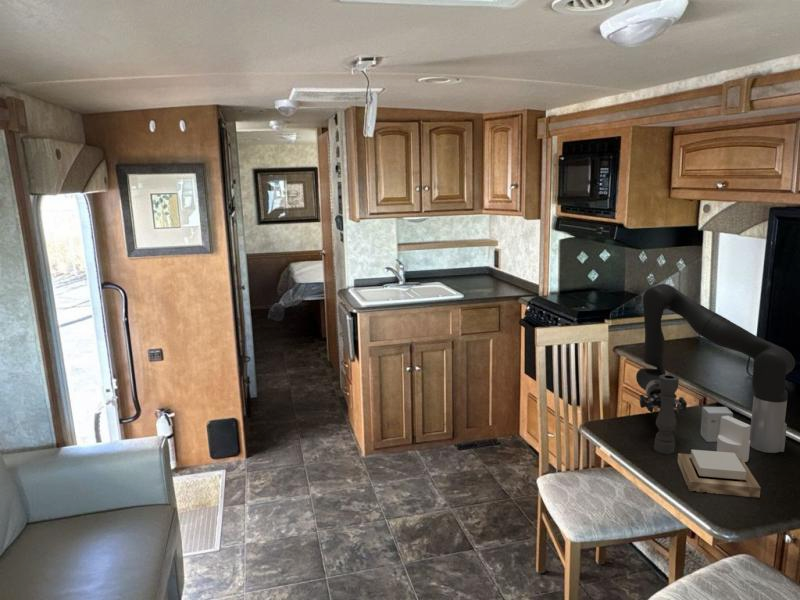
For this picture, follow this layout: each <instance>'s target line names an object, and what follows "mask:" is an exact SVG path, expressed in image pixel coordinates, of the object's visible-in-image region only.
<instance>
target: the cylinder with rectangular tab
mask: <svg viewBox="0 0 800 600" xmlns="http://www.w3.org/2000/svg"><path fill="white" fill-rule="evenodd" d="M750 428H751V424H748V423H746V422H744V421H741V420H739V419H737V418H735V417H734V416H733V417H730V416H722V417H721V422H720V433H719V435H718V442H716V443H717V444H716V451H717V452H730V453H735V454H736V456H737V458H742V460H743V461H744V463H745V464H746V462H747V463H748V461H749V457H750V447H751V446H750V440H749V438H750Z"/></svg>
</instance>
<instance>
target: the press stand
mask: <svg viewBox="0 0 800 600" xmlns="http://www.w3.org/2000/svg"><path fill="white" fill-rule="evenodd" d="M738 459H739V461H740V462H741V464H742V466H743V467H744V469H745V470H746V480H741V479H738V480H739V481H734V480H727V479H726V480H724V479H715V478H714V479H713V478H712V479H711V478H701V477H698V474H697V473H696V471H695V470H696V469H695V468H696V467H695V465H694V463H693V461H692V459H691V453H679V452H678V453H677V465H678V467H679V469H680V473H682V476H683V477H682V478H683V479H684V482H685V484H686V486H688V487H687V489H688V491H689V492H693V491H696V492H695V493H703V492H707V493H706V494H714V493H715V494H717V495H725V496H738V497H747V498H748V497H749V498H759V499H760V497H761V496H760V495H761V489H762V487H761V486H760V484H759V483H758V481H757V479H756V478H755V477H754V475H753V474H752V472H751V470H750V469H749V468H748V466H747V465H746V462H745V463H744V461H743V460H742V458H738Z"/></svg>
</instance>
